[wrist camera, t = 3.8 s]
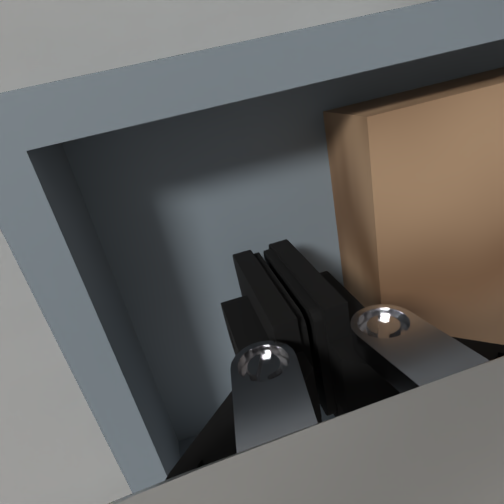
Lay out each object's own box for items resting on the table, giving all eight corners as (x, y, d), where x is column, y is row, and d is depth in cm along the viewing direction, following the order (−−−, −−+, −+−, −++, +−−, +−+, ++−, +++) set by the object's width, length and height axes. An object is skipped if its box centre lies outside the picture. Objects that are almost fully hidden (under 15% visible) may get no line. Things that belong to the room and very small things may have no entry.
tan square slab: (323, 111, 11) (367, 117, 9) (611, 40, 13) (710, 30, 11) (352, 358, 15) (389, 405, 13) (573, 281, 17) (641, 311, 14)
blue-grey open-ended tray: (3, 100, 10) (-61, 105, 7) (631, -35, 13) (794, -76, 10) (158, 458, 15) (163, 554, 12) (575, 308, 18) (667, 355, 15)
